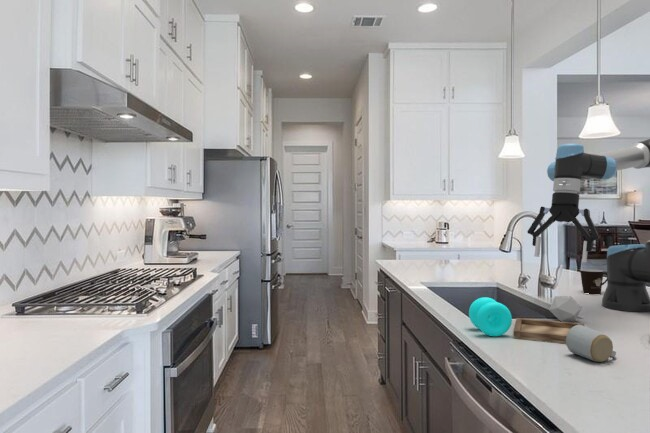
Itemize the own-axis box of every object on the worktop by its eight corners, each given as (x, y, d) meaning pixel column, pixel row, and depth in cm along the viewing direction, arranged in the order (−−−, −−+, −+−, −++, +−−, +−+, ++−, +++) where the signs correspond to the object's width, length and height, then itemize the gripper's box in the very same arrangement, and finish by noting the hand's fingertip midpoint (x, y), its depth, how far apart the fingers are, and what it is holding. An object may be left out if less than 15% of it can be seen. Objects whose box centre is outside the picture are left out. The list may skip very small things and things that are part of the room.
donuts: (478, 338, 125) (478, 303, 125) (467, 328, 135) (467, 296, 135) (513, 337, 125) (513, 302, 125) (500, 328, 135) (499, 296, 135)
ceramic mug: (592, 365, 102) (592, 333, 102) (565, 354, 109) (565, 325, 109) (625, 361, 105) (625, 330, 105) (596, 351, 112) (596, 322, 112)
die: (580, 327, 137) (589, 300, 140) (554, 312, 138) (564, 287, 141) (566, 329, 145) (575, 304, 147) (541, 316, 146) (551, 291, 149)
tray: (583, 330, 130) (583, 323, 130) (589, 346, 116) (589, 338, 116) (516, 324, 139) (516, 317, 139) (513, 338, 124) (513, 330, 124)
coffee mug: (583, 295, 184) (583, 271, 183) (577, 291, 192) (577, 268, 192) (615, 296, 180) (614, 272, 180) (608, 292, 188) (607, 269, 188)
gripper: (521, 190, 144) (515, 254, 143) (610, 192, 127) (603, 264, 127) (528, 193, 149) (522, 254, 149) (614, 195, 133) (608, 264, 132)
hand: (559, 259), depth 138 cm, fingers open, 13 cm apart
